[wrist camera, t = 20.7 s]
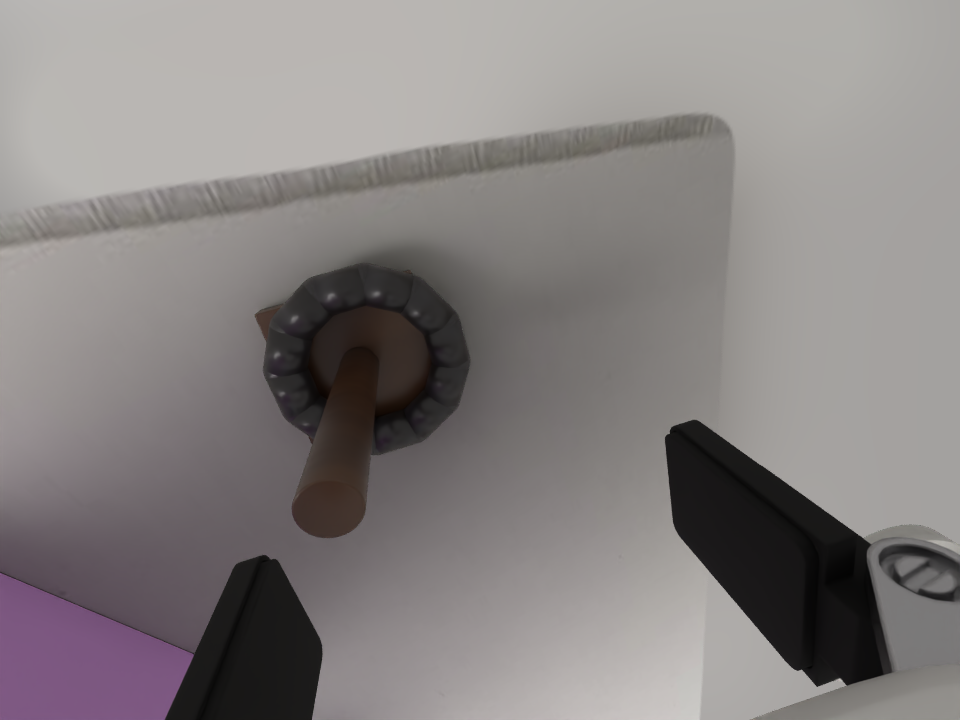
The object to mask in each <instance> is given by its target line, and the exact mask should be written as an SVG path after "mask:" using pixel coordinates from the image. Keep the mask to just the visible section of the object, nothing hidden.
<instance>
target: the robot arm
mask: <svg viewBox="0 0 960 720" xmlns="http://www.w3.org/2000/svg"><path fill="white" fill-rule="evenodd" d="M665 445H666V455H667V465H668V476H669V486H670V496H671V507H672V517H673V524H674V527H675V529H676V531H677V533H678V535H679V536H680V537H681V539H682V540H683V541H684V542H685V543H686V545H687V546H688V547H689V548H690V549H691V550H692V552H693V553H694V554H695V555H696V556H697V557H698V559H699V560H700V561H701V562H702V563H703V565H704V566H705V567H706V568H707V569H708V570H709V572H710V573H711V574H712V575H713V576H714V577H715V579H716V580H717V581H718V582H719V583H720V585H721V586H722V587H723V588H724V589H725V590H726V592H727V593H728V594H729V595H730V596H731V598H733V600H734V601H735V602H736V603H737V604H738V606H739V607H740V608H741V609H742V610H743V612H744V613H745V614H746V615H747V616H748V618H750V620H751V621H752V622H753V623H754V625H755V626H756V627H757V628H758V629H759V630H760V632H761V633H762V634H763V635H764V636H765V637H766V639H767V640H768V641H769V642H770V643H771V645H772V646H773V647H774V648H775V649H776V651H777V652H778V653H779V654H780V655H781V656H782V658H783V659H784V660H785V661H786V662H787V663H788V664H789V665H790V666H791V667H792V668H793V669H795V670H797V671H799V670H803V671H804V672H805V674H806V675H807V676H808V677H809V678H810V679H811V680H812V682H813V683H814V684H815V685H816V686H817V687H818V686H821V685H823V684H826V683H829V682H831V681H834V680H837V679H839V678H840V679H841V680H842V681H843V682H844V683H845V684H846V685H847V686H845V687H842V688H839V689H836V690H834V691H830V692H828V693H825V694H822V695H819V696H816V697H813V698H810V699H807V700H805V701H801V702H799V703H796V704H793V705H790V706H787V707H784V708H781V709H779V710H775V711H772V712H770V713H767V714H764V715H762V716H759V717H756V718H753V719H751V720H960V555H959V554H958V553H956V552H954V551H952V550H951V549H948V548H945V547H943V546H940V545H938V544H935V543H933V542H929V541H924V540H920V539H916V538H908V537H891V538H883V539H881V540H879V541H876V542H874V543H872V544H870V543H869V542H868V541H866V540H865V539H863V538H862V537H861V536H859V535H858V534H856V533H855V532H854V531H852V530H851V529H849V528H848V527H846V526H845V525H844V524H842V523H841V522H840V521H838V520H837V519H835V518H834V517H833V516H831V515H830V514H829V513H827V512H825V511H824V510H823V509H822V508H820V507H819V506H817V505H816V504H815V503H813V502H812V501H810V500H809V499H808V498H806V497H805V496H803V495H802V494H801V493H799V492H798V491H796V490H795V489H793V488H792V487H791V486H789V485H788V484H787V483H785V482H784V481H782V480H781V479H780V478H778V477H777V476H775V475H774V474H773V473H771V472H770V471H768V470H767V469H766V468H764V467H763V466H761V465H759V464H758V463H757V462H755V461H754V460H752V459H751V458H750V457H748V456H747V455H745V454H744V453H743V452H741V451H740V450H738V449H737V448H736V447H734V446H733V445H731V444H730V443H729V442H727V441H726V440H725V439H723V438H722V437H720V436H719V435H718V434H716V433H715V432H713V431H712V430H711V429H709V428H708V427H706V426H705V425H704V424H702V423H701V422H699V421H697V420H691V421H688V422H685V423H682V424H679V425H675V426H673V427H671V429H670V434H668V435H666V437H665ZM321 662H322V644H321V640H320V638H319V636H318V634H317V632H316V630H315V628H314V627H313V625H312V623H311V621H310V619H309V617H308V615H307V614H306V612H305V610H304V608H303V606H302V604H301V602H300V601H299V599H298V597H297V595H296V593H295V591H294V589H293V588H292V586H291V584H290V582H289V580H288V578H287V576H286V574H285V573H284V571H283V569H282V567H281V565H280V563H279V562H278V560H276V559H271V560H270V558H269V557H268V556H266V555H262V556H259V557H255V558H252V559H249V560H246V561H243V562H240V563H238V564H236V565H235V567H234V568H233V570H232V573H231V575H230V577H229V579H228V581H227V584H226V586H225V588H224V590H223V592H222V595H221V597H220V599H219V601H218V603H217V606H216V608H215V610H214V612H213V614H212V617H211V619H210V621H209V623H208V625H207V628H206V630H205V632H204V634H203V636H202V639H201V641H200V643H199V645H198V647H197V650H196V652H195V654H194V656H193V658H192V661H191V663H190V665H189V667H188V669H187V672H186V674H185V676H184V678H183V680H182V683H181V685H180V687H179V689H178V691H177V694H176V696H175V698H174V700H173V702H172V705H171V707H170V709H169V711H168V713H167V716H166V718H165V720H312V715H313V709H314V704H315V698H316V692H317V686H318V680H319V674H320V668H321Z"/></svg>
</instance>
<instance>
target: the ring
mask: <svg viewBox="0 0 960 720" xmlns="http://www.w3.org/2000/svg"><path fill="white" fill-rule="evenodd" d="M364 306H369V307H374V308H378V309H382V310H387V311H391V312H396V313H400V314H401V315H402V316H403V317H404V318H405V319H406V320H408V321H409V322H410V323H411V324H412V325H413V326H414V327H415V328H417V329H418V330H419V331H420V332H421V333H422V334H423V335H424V338H425V342H426V345H427V348H428V351H429V354H430V358H431V361H432V363H431V367H430V371H429V375H428V378H427V382H426V386H425V389H424V390H423V391H422V392H421V393H420V394H419V395H418V396H417V397H416V398H415V399H414V400H413V401H412V402H411V403H410V404H409V405H408V406H407V407H406V408H405V409H402V410H398V411H395V412H392V413H389V414H386V415H382V416H379V417H376V418H375V417H374V427H373V438H372V448H371V455H381V454H384V453H388V452H391V451H394V450H397V449H400V448H403V447H407V446H410V445H413V444H416V443H419V442H422V441H424V440H425V439H426V438H428V437H429V436H430V435H431V434H432V433H433V432H434V431H435V430H436V429H437V428H438V427H439V426H440V425H441V424H442V423H443V422H444V421H445V420H446V419H447V418H448V417H449V416H450V415H451V414H452V413H453V412H454V411H455V410H456V409H457V407H458V405H459V403H460V399H461V395H462V392H463V388H464V385H465V381H466V378H467V374H468V371H469V367H470V355H469V352H468V348H467V344H466V341H465V337H464V334H463V330H462V326H461V323H460V319H459V316H458V314H457V312H456V311H455V310H454V309H453V308H452V307H451V306H450V305H449V304H448V303H447V302H446V301H445V300H444V299H442V298H441V297H440V296H439V295H438V294H437V293H436V292H435V291H434V290H433V289H432V288H431V287H430V286H429V285H428V284H427V283H426V282H425V281H424V280H422V279H421V278H420V277H418V276H416V275H413V274H409V273H405V272H401V271H397V270H393V269H389V268H385V267H381V266H377V265H373V264H368V263H360V264H356V265H352V266H349V267H345V268H341V269H338V270H334V271H331V272H327V273H323V274H320V275H316V276H313V277H311V278H309V279H307V280H306V281H305V282H304V283H303V284H302V285H301V286H300V287H299V288H298V289H297V290H296V291H295V293H294V294H293V295H292V296H291V297H290V298H289V299H288V300H287V301H286V302H285V303H284V305H283V306H282V307H281V308H280V309H279V310H278V311H277V312H276V313H275V314H274V316H273V317H272V319H271V321H270V324H269V330H268V337H267V344H266V351H265V358H264V365H263V373H264V376H265V379H266V381H267V383H268V385H269V387H270V389H271V391H272V393H273V395H274V398H275V400H276V402H277V404H278V406H279V408H280V410H281V412H282V414H283V416H284V418H285V419H286V420H287V421H288V422H289V423H291V424H292V425H294V426H295V427H297V428H298V429H299V430H301V431H302V432H304V433H305V434H307V435H308V436H310V437H311V438H312V439H314V438H315V435H316V432H317V429H318V426H319V423H320V420H321V418H322V415H323V412H324V409H325V406H326V403H327V399H326V398H324V397H323V396H322V395H320V394H319V391H318V389H317V387H316V385H315V382H314V380H313V378H312V375H311V373H310V371H309V368H308V363H309V357H310V351H311V346H312V340H313V337H314V336H315V335H316V334H317V333H318V332H319V331H320V330H321V329H322V328H323V326H324V325H325V324H326V323H327V322H328V321H329V320H330V319H331V318H332V317H333V316H334V315H336V314H340V313H343V312H347V311H350V310H354V309H357V308H361V307H364Z"/></svg>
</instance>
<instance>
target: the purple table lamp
mask: <svg viewBox="0 0 960 720" xmlns="http://www.w3.org/2000/svg"><path fill="white" fill-rule="evenodd" d="M193 656H194V654H192V653H190V652H187V651H185V650H183V649H180V648H178V647H175V646H173V645H171V644H168V643H166V642H164V641H161V640H159V639H156V638H154V637H152V636H149V635H147V634H144V633H142V632H140V631H137V630H135V629H133V628H130V627H128V626H125V625H123V624H121V623H118V622H116V621H114V620H111V619H109V618H106V617H104V616H102V615H99V614H97V613H94V612H92V611H90V610H87V609H85V608H83V607H80V606H78V605H75V604H73V603H71V602H68V601H66V600H64V599H61V598H59V597H56V596H54V595H52V594H49V593H47V592H45V591H42V590H40V589H37V588H35V587H33V586H30V585H28V584H25V583H23V582H21V581H18V580H16V579H14V578H11V577H9V576H6V575H4V574H2V573H0V720H165V718H166V716H167V713H168V711H169V709H170V707H171V705H172V702H173V700H174V698H175V696H176V694H177V691H178V689H179V687H180V685H181V683H182V680H183V678H184V676H185V674H186V672H187V669H188V667H189V665H190V663H191V661H192V658H193Z"/></svg>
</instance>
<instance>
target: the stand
mask: <svg viewBox="0 0 960 720" xmlns="http://www.w3.org/2000/svg"><path fill="white" fill-rule="evenodd" d="M403 272H405V273H409V274H412V273H411V270H407V271H403ZM283 305H284V304H281V305H278V306H274V307H270V308H267V309H263V310H260V311H259V312H258V313H256V314H255V318H256V320H257V322H258V324H259V327H260V329H261V331H262V333H263V336H264V338H265V340H266V342H267V337H268V330H269V324H270V321H271V319H272V317H273V316H274V314H275V313H276V312H277V311H278V310H279V309H280V308H281V307H282V306H283ZM431 363H432V361H431V358H430V354H429V351H428V348H427V345H426V342H425V338H424V335H423V334H422V333H421V332H420V331H419V330H418V329H417V328H415V327H414V326H413V325H412V324H411V323H410V322H409V321H408V320H406V319H405V318H404V317H403V316H402V315H401V314H400V313H396V312H391V311H387V310H382V309H378V308H374V307H369V306H364V307H361V308H357V309H354V310H350V311H347V312H343V313H340V314H336V315H334V316H333V317H332V318H331V319H330V320H329V321H328V322H327V323H326V324H325V325H324V326H323V328H322V329H321V330H320V331H319V332H318V333H317V334H316V335H315V336H314V337H313V340H312V346H311V351H310V357H309V363H308V368H309V371H310V373H311V375H312V378H313V380H314V382H315V385H316V387H317V389H318V391H319V394H320V395H322V396H323V397H324V398H326V399H327V403H326V406H325V409H324V412H323V415H322V418H321V420H320V423H319V426H318V429H317V432H316V435H315V438H314V439H312V438H311V437H310V436H309V439H310V441H311V443H312V447H311V450H310V453H309V456H308V458H307V461H306V464H305V467H304V470H303V473H302V476H301V479H300V482H299V485H298V488H297V491H296V494H295V497H294V499H293V503H292V515H293V518H294V520H295V522H296V524H297V525H298V526H299V527H300V528H301V529H302V530H303V531H305V532H306V533H308V534H310V535H313V536H316V537H321V538H334V537H339V536H342V535H345V534H347V533H349V532H351V531H352V530H354V529H355V528H356V527H357V526H358V525H359V524H360V522H361V521H362V519H363V517H364V515H365V510H366V501H367V491H368V480H369V469H370V459H371V448H372V438H373V427H374V417H375V418H376V417H379V416H382V415H386V414H389V413H392V412H395V411H398V410H402V409H405V408H406V407H407V406H408V405H409V404H410V403H411V402H412V401H413V400H414V399H415V398H416V397H417V396H418V395H419V394H420V393H421V392H422V391H423V390H424V389H425V386H426V382H427V378H428V375H429V371H430V367H431Z"/></svg>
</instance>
